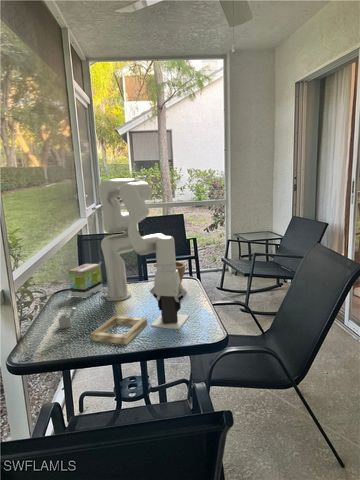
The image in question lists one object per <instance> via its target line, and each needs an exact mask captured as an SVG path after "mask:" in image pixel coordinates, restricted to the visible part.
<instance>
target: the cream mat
mask: <svg viewBox="0 0 360 480" xmlns="http://www.w3.org/2000/svg"><path fill="white" fill-rule="evenodd" d="M177 318H178V322H175V323H163V322H162V315H161V314H160V315H159V316H158V318H156V320H155V321H153V322H152V323H151V325H150V327H155V328H163V329H165V328H166V329H172V328H173V329H174V330H180V329H181V328H182V327H183V326H184V324H185V323H186V322H187V320H188V319H189V318H190V315H189V314H179V313H177Z"/></svg>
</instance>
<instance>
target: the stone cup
mask: <svg viewBox="0 0 360 480" xmlns="http://www.w3.org/2000/svg"><path fill="white" fill-rule="evenodd" d="M176 270H178V273H179V277H180V283H181V287H182V288H184V287H183V285H182V281H183V278H184V275H185V273H186V266H185V264H184V263H183V262H180V261H176Z"/></svg>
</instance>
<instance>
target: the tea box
mask: <svg viewBox="0 0 360 480" xmlns="http://www.w3.org/2000/svg"><path fill="white" fill-rule="evenodd" d="M68 280H69V281H68V282H69V290H70V297H71V296H79V297H88V296H89V295H91V294H93V293H94V292H96V291H98V290H100V289H102V288H103V278H102V268H101V264H99V263H84V264H81V265H79V266H76V267H74V268H72V269H68ZM102 290H103V289H102ZM93 295H94V294H93ZM91 296H92V295H91ZM89 297H90V296H89ZM89 297H88V298H89Z"/></svg>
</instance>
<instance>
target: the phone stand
mask: <svg viewBox="0 0 360 480" xmlns="http://www.w3.org/2000/svg"><path fill="white" fill-rule="evenodd" d="M175 302H176V300H175V298H174V297H169V296H161V303H162V310H160V311H161V313H160V315H162V322H163V323H175V322H178V318H177V314H178V312H177V311H176V308H175Z"/></svg>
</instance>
